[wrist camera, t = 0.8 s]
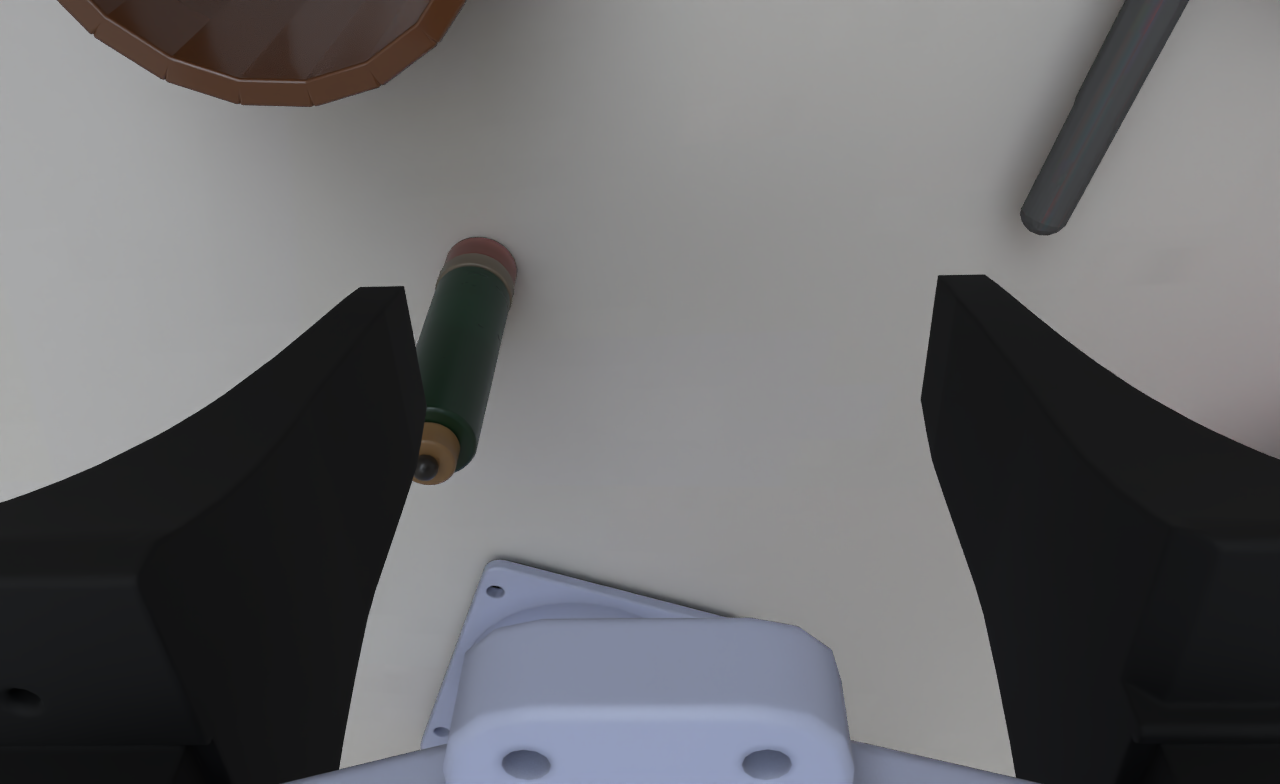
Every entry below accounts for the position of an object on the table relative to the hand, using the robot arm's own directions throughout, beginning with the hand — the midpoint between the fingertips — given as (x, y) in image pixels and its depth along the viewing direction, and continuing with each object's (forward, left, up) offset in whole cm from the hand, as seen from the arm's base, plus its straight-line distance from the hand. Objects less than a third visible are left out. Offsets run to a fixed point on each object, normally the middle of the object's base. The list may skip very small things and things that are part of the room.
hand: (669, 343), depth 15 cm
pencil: (-6, +3, -10) cm, 12 cm away
